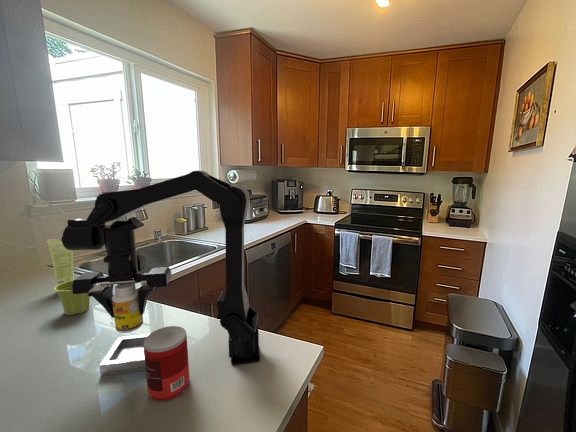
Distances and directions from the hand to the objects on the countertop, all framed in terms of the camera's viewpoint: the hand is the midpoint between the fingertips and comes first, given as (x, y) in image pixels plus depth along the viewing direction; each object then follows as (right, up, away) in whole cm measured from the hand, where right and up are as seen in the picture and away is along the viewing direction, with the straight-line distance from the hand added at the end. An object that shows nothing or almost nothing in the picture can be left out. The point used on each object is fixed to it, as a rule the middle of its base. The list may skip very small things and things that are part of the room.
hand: (128, 315), depth 64 cm
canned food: (+12, -12, -7) cm, 19 cm away
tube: (-45, -5, +40) cm, 60 cm away
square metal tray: (+1, -11, +2) cm, 11 cm away
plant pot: (-30, -7, +24) cm, 39 cm away
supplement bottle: (0, -3, +1) cm, 3 cm away
